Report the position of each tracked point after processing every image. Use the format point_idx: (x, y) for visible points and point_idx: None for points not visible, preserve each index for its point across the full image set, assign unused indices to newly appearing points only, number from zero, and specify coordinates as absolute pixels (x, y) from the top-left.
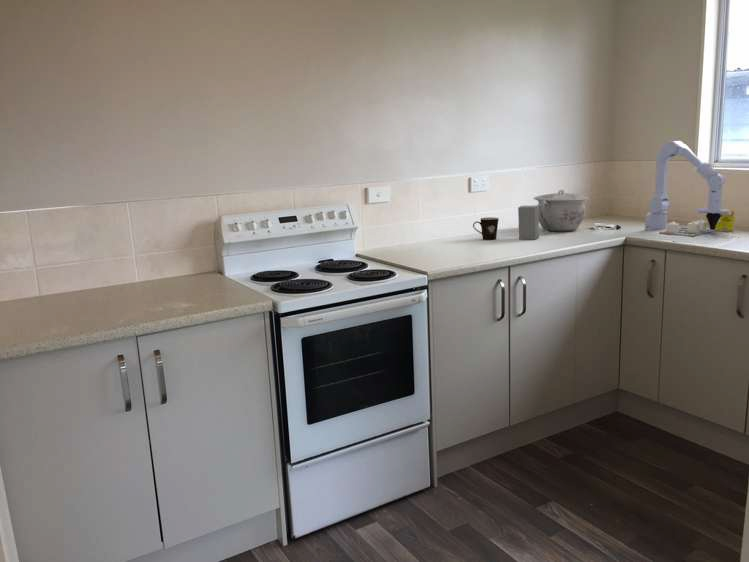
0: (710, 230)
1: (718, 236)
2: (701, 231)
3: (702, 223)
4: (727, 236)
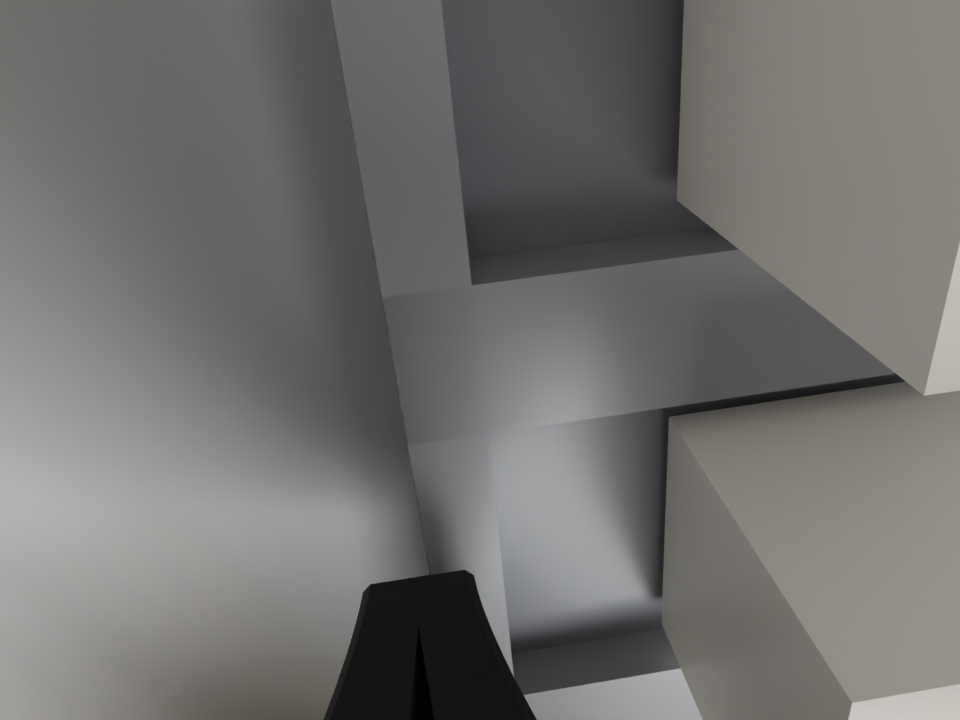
0: (564, 675)
1: (156, 444)
2: (641, 271)
3: (854, 650)
4: (13, 590)
